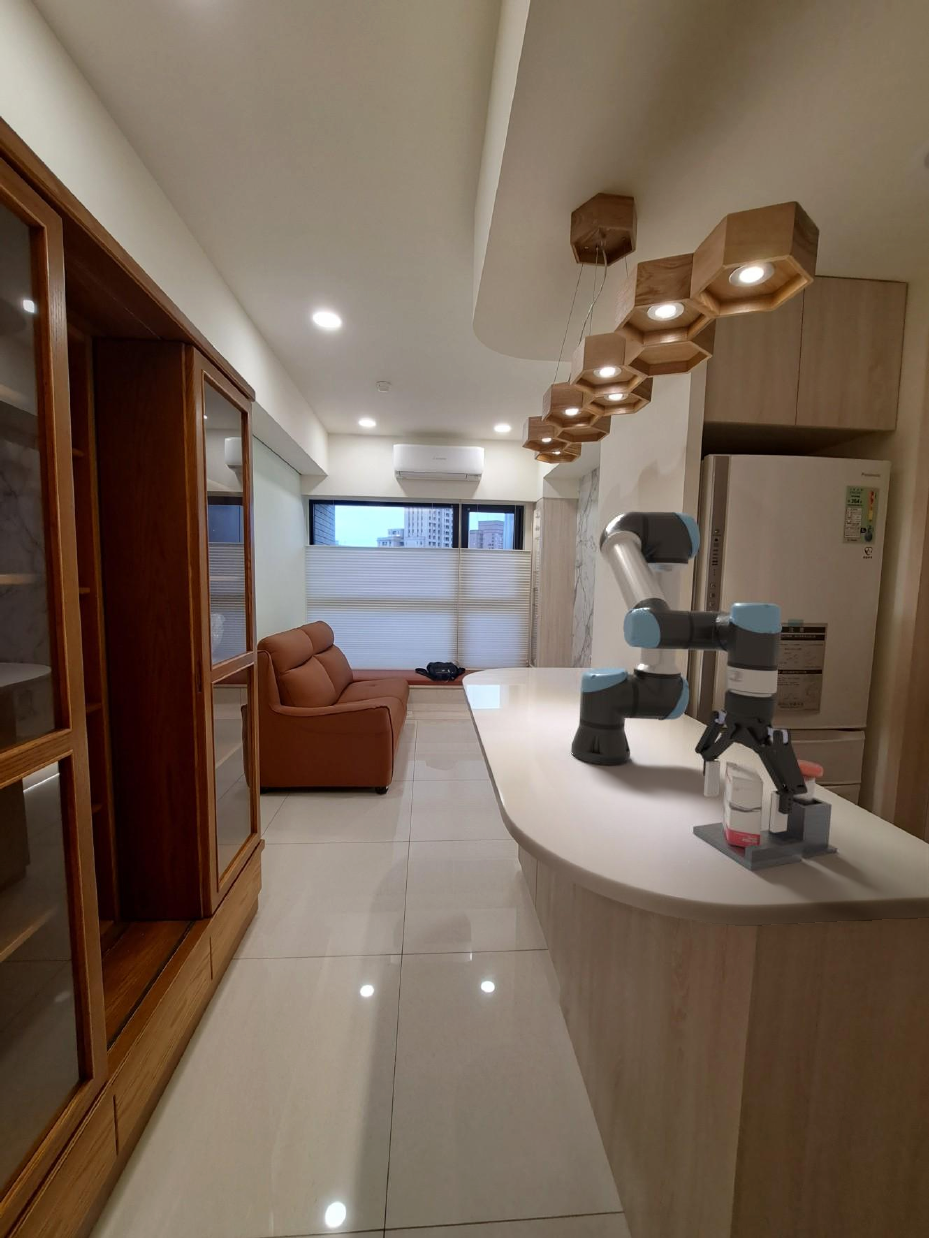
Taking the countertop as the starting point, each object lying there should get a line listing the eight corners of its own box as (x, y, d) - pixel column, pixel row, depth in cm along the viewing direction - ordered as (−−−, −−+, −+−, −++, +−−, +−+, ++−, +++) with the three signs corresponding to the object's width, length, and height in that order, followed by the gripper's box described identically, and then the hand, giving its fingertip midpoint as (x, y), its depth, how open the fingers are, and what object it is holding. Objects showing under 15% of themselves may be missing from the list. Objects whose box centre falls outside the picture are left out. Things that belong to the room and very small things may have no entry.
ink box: (760, 851, 78) (765, 781, 77) (726, 844, 80) (731, 776, 79) (751, 828, 86) (755, 764, 85) (721, 822, 88) (725, 760, 87)
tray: (693, 832, 86) (694, 815, 86) (739, 825, 89) (740, 809, 89) (750, 870, 75) (752, 850, 74) (801, 860, 78) (803, 841, 78)
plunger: (773, 809, 85) (776, 760, 85) (795, 806, 87) (799, 757, 86) (803, 824, 80) (807, 771, 79) (827, 820, 82) (831, 769, 81)
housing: (760, 834, 86) (763, 791, 86) (792, 828, 89) (795, 787, 88) (803, 858, 79) (806, 811, 78) (837, 851, 81) (840, 806, 81)
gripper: (679, 679, 92) (673, 785, 93) (805, 710, 68) (794, 852, 70) (709, 678, 94) (703, 781, 96) (842, 708, 71) (831, 845, 72)
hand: (741, 811), depth 83 cm, fingers open, 13 cm apart
